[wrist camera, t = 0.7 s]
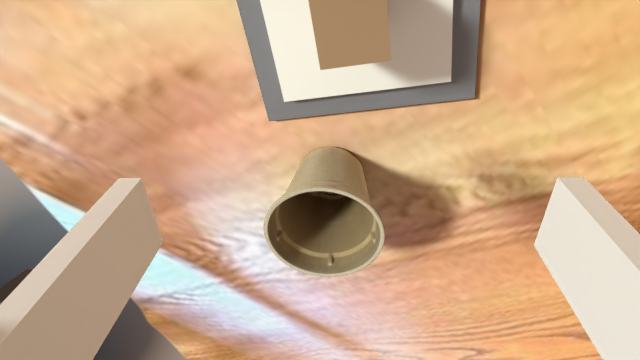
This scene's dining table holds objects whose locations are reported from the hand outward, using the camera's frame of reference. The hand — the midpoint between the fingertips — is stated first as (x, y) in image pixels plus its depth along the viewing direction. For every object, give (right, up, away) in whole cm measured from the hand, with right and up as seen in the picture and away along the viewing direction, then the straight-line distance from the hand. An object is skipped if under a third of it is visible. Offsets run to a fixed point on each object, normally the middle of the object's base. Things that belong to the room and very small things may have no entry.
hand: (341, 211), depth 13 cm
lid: (+2, +14, +14) cm, 20 cm away
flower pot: (0, +2, +24) cm, 24 cm away
